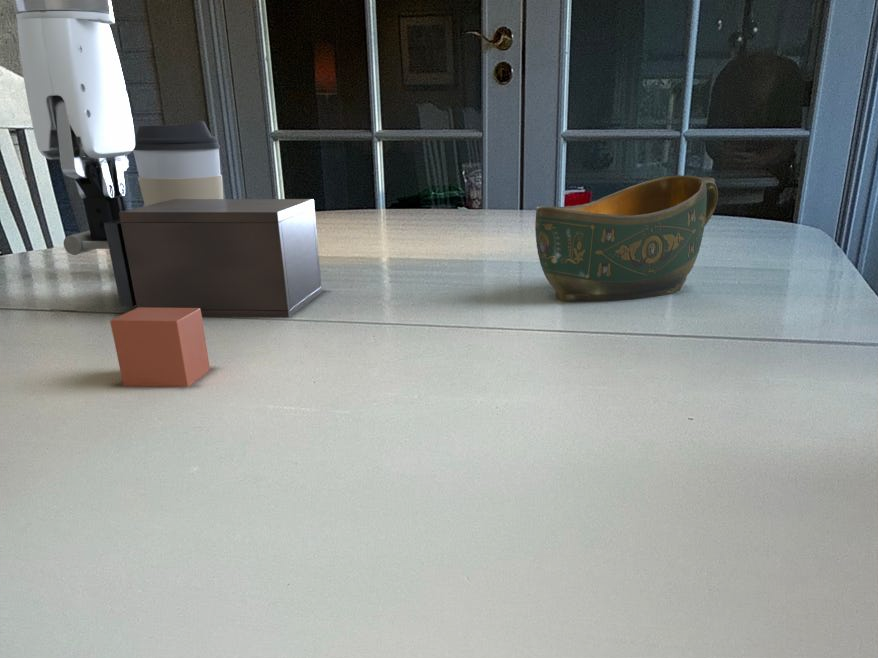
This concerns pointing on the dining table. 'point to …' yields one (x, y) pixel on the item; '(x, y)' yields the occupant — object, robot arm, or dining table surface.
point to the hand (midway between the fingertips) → (113, 244)
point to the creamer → (626, 240)
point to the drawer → (117, 252)
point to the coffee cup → (177, 163)
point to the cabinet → (224, 255)
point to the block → (161, 346)
